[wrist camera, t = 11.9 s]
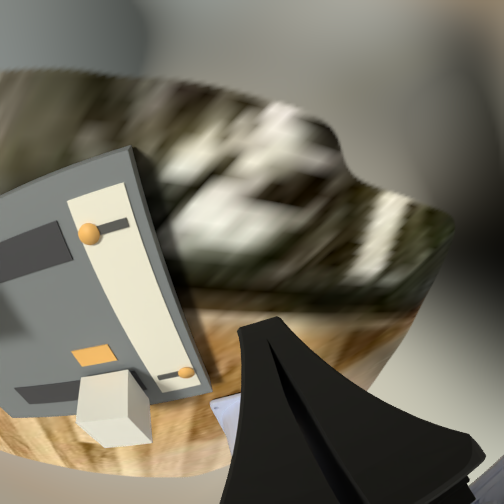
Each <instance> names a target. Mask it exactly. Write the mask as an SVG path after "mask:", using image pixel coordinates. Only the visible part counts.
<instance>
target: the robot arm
mask: <svg viewBox="0 0 504 504" xmlns="http://www.w3.org/2000/svg"><path fill="white" fill-rule="evenodd" d="M237 333H238V336H239V341H240V348H241V364H242V366H241V393H239V394H235V395H231V396H227V397H223V398H219V399H215V400H212V401H211V402H210V407H211V409H212V411H213V412H214V414H215V416H216V418H217V420H218V422H219V424H220V425H221V427H222V429H223V431H224V433H225V435H226V437H227V441H228V445H229V449H230V452H231V456H232V459H231V464H230V468H229V473H228V477H227V480H226V484H225V487H224V490H223V494H222V497H221V500H220V504H504V455H503V456H502V457H501V458H500V459H499V460H498V461H497V462H495V463H494V464H493V466H491V467H490V468H489V469H488V470H487V471H486V472H484V473H483V474H482V475H481V476H480V477H479V478H477V479H476V480H475V481H474V482H473V483H471V484H470V485H469V486H468V485H467V483H468V482H469V480H470V479H469V478H468V476H467V475H468V474H469V473H471V472H472V471H473V470H474V469H475V468H476V467H478V466H479V465H480V464H481V463H482V462H483V461H484V460H485V457H486V455H485V453H484V452H483V450H482V449H481V447H480V446H479V445H478V443H477V442H476V441H475V440H474V439H473V438H472V437H471V436H470V435H469V434H467V433H463V432H459V431H455V430H452V429H448V428H445V427H442V426H439V425H436V424H433V423H431V422H428V421H425V420H423V419H420V418H418V417H415V416H413V415H411V414H409V413H407V412H405V411H402V410H400V409H398V408H396V407H394V406H392V405H390V404H388V403H386V402H384V401H382V400H380V399H379V398H377V397H375V396H373V395H372V394H370V393H368V392H367V391H365V390H364V389H362V388H360V387H359V386H357V385H356V384H354V383H353V382H351V381H350V380H349V379H347V378H346V377H344V376H343V375H342V374H340V373H339V372H338V371H336V370H335V369H334V368H332V367H331V366H330V365H329V364H327V363H326V362H325V361H324V360H323V359H321V358H320V357H319V356H318V355H317V354H316V353H314V352H313V351H312V350H311V349H310V348H309V347H308V346H307V345H306V344H305V343H303V342H302V341H301V340H300V339H299V338H298V337H297V336H296V335H295V334H294V333H293V332H292V331H291V329H290V328H289V327H288V326H287V325H286V324H285V323H284V322H283V320H282V319H281V318H279V317H277V316H276V317H273V318H270V319H267V320H263V321H260V322H257V323H253V324H250V325H247V326H243V327H240V328H239V329H238V330H237Z"/></svg>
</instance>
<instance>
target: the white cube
mask: <svg viewBox="0 0 504 504" xmlns="http://www.w3.org/2000/svg"><path fill="white" fill-rule="evenodd" d="M76 423H77V424H78V425H79V426H80V427H81V428H82V429H83V430H84V431H85V432H87V433H88V434H89V435H90V436H91V437H92V438H94V439H95V440H96V441H97V442H98V443H100V444H101V445H102V446H103V447H104V448H110V447H121V446H131V445H139V444H147V443H153V441H152V430H151V417H150V402H149V398H148V397H147V396H146V394H145V393H144V391H143V390H142V389H141V387H140V386H139V384H138V383H137V382H136V380H135V379H134V377H133V376H132V374H131V373H130V371H129V370H122V371H117V372H111V373H106V374H100V375H94V376H88V377H81V382H80V389H79V397H78V405H77V415H76Z"/></svg>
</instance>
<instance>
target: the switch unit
mask: <svg viewBox="0 0 504 504" xmlns="http://www.w3.org/2000/svg"><path fill="white" fill-rule="evenodd" d="M122 370H129V371H130V373H131V374H132V376H133V377H134V379H135V380H136V382H137V383H138V384H139V386H140V387H141V389H142V390H143V391H144V393H145V394H146V396H147V397H148V398H149V402H150V405H152V404H158V403H163V402H168V401H173V400H178V399H183V398H187V397H192V396H196V395H201V394H205V393H209V392H213V391H212V386H211V382H210V378H209V375H208V373H207V371H206V368H205V366H204V363H203V361H202V359H201V356H200V354H199V351H198V349H197V346H196V344H195V342H194V339H193V337H192V334H191V331H190V329H189V326H188V324H187V321H186V318H185V316H184V313H183V311H182V308H181V305H180V302H179V300H178V297H177V294H176V291H175V289H174V286H173V283H172V280H171V277H170V274H169V271H168V269H167V266H166V263H165V260H164V257H163V254H162V251H161V247H160V244H159V241H158V238H157V235H156V232H155V228H154V225H153V222H152V219H151V215H150V212H149V209H148V205H147V202H146V198H145V195H144V191H143V188H142V184H141V180H140V177H139V173H138V169H137V165H136V161H135V157H134V153H133V149H132V145H130V146H126V147H123V148H120V149H117V150H113V151H110V152H107V153H104V154H101V155H98V156H95V157H92V158H89V159H87V160H84V161H81V162H78V163H75V164H73V165H70V166H67V167H65V168H62V169H60V170H57V171H55V172H52V173H50V174H47V175H45V176H42V177H40V178H38V179H35V180H33V181H31V182H28V183H26V184H24V185H22V186H19V187H17V188H15V189H13V190H11V191H9V192H7V193H5V194H2V195H0V407H1V408H2V409H3V410H4V411H5V412H7V413H8V414H9V415H10V416H11V417H12V418H28V417H52V416H67V415H77V405H78V397H79V389H80V382H81V377H88V376H94V375H100V374H106V373H111V372H117V371H122Z"/></svg>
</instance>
